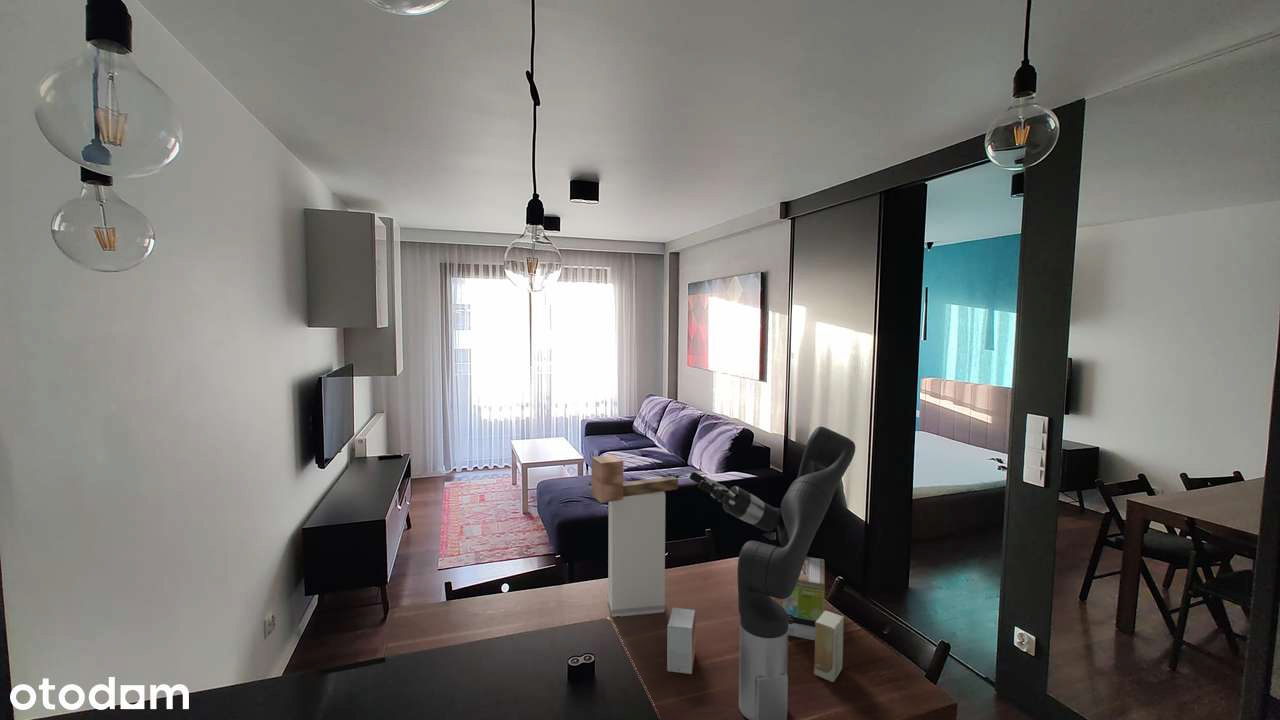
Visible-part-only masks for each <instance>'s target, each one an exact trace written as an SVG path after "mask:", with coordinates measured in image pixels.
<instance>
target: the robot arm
mask: <svg viewBox="0 0 1280 720" xmlns="http://www.w3.org/2000/svg"><path fill="white" fill-rule="evenodd" d="M855 444H856V443H855V442H854V441H853V440H852V439H850V438H849V437H847V436H844V435H843V434H840V433H838V432H836V431H834V430H832V429H829V428H827V427H824V426H818V427H815V429H814V430H813V432H812V433H811V435H810V437H809V439H808V441H807V443H806V445H805V448H804V452H803V455H802V458H801V462H800V465H799V469H798V474H797V478H796V479H795V480H794V481H792V482H791V484H790V486H789V487H788V489H787V491H786V492H785V494H784V496H783V498H782V500H781V503H780V508H778V507H773V506H772V505H770V504H768V503H767V502H764V501H763V500H761V499H760V498H759V497H757V496H756V495H754V494H752V493H750V492H749V491H746V490H745V489H743V488H742V487H739V486H738V485H734V486H732V487H730V488H729V489H728V488H727V487H726V486H725V485H724V484H720V483H719V482H717V481H716V480H713V479H711V478H708V477H707V476H706V475H703V476H702V475H701V474H699V473H697V472H695V471H692V472H691V474H690V475H689V479H690V480H691V481H693V482H694V483H697V484H698V486H697V487H698V489H700V490H702V491H703V492H706V493H707V494H709V495H710V496H711V497H713V499H715V500H716V501H718V502H720V503H722V508H723V511H725V513H727V514H728V513H729V514H730V515H732V516H733V517H735V518H737V519H740V520H741V521H743V522H745V523H748V524H751V525H752V526H754V527H756V528H758V529H760V530H762V531H763V532H772V531H773V530H775V528H777V532H778V534H777V536H778V541H779V543H780V545H781V546H782V547H781V546H776V545H773V544H769V543H764V542H762V541H756V540H749V541H746V542H745V543H744V544H743V546H742V547H741V549H740V552H739V555H738V560H737V595H738V596H737V597H738V606H737V607H738V613H739V617H740V618H739V623H740V624H739V657H738V658H739V659H738V660H739V661H738V663H739V666H738V667H739V668H738V669H739V672H738V708H739V710H740V713H741V714H742V715H743V716H744V717H745V718H746V719H748V720H788V693H789V691H788V688H789V686H788V685H789V684H788V683H789V677H788V655H789V654H788V650H789V649H788V648H789V635H788V615H787V612H786V611H785V609H784V608H783V607H782V605H780V604H779V603H778V602H776V600H774V599H779V600H783V599H786V598H788V597H789V596H790V595H791V594H792V592H793V590H794V588H795V586H796V584H797V581H798V579H799V576H800V573H801V570H802V567H803V564H804V561H805V559H806V557H808V552H809V550H810V547H811V546H812V543H813V541H814V539H815V536H816V533H817V531H818V529H819V528H820V525H821V524H822V522H823V520H824V518H825V515H826V513H827V512H828V509H829V508H830V505H831V502H832V500H833V497H834V495H835V493H836V490H837V487H838V485H839V484H840V482H841V480H842V478H843V476H844V475H845V473H846V471H847V470H848V467H849V466H850V464H851V463H852V461H853V460H854V459H853V458H854V456H855V453H856V445H855ZM815 464H818V465H819V466H821V467H824V469H823V470H819V471H815ZM773 598H774V599H773Z"/></svg>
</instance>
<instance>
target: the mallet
mask: <svg viewBox="0 0 1280 720" xmlns="http://www.w3.org/2000/svg"><path fill="white" fill-rule="evenodd" d="M590 458H591V468H590V469H591V470H590V471H591V474H590V475H591V476H590V477H591V478H590V479H591V482H590V483H591V486H590V488H591V492H590V493H591V496H592V497H593V498H594V499H595V500H597V501H598V502H600V503H601V504H602V503H603V504H604V503H609V502H611V501H618V500H623V497H626V496H633V495H640V494H647V493H654V492H661V491H664V492H665V491H666V492H667V491H673V490H674V491H675V490H678V489H679V478H677V477H675V476H673V475H669V476H661V477H655V478H647V479H641V480H633V481H625V482H624V460H623V459H621V458H619V457H618V456H616V455H614V454H606V455H605V454H604V455H597V456H596V455H595V456H591V457H590Z"/></svg>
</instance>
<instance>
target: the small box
mask: <svg viewBox="0 0 1280 720" xmlns="http://www.w3.org/2000/svg"><path fill="white" fill-rule="evenodd" d="M666 628H667V629H666V630H667V631H666V633H667V634H666V635H667V641H666V642H667V643H666V645H667V647H666V648H667V649H666V650H667V651H666V654H667V655H666V657H667V658H666V663H667V664H666V666H667V667H666V668H667V669H666V671H667V672H670V673H671V672H673V673H679V674H680V673H681V674H689V675H693V667H694V661H695V654H696V610H695V609H689V608H688V609H687V608H679V607H671V612H670V616H669V620H668V624H667V627H666Z"/></svg>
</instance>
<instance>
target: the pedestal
mask: <svg viewBox="0 0 1280 720" xmlns="http://www.w3.org/2000/svg"><path fill="white" fill-rule="evenodd" d="M607 545H608V559H607V561H608V562H607V563H608V566H607V567H608V572H607V573H608V576H607V577H608V578H607V579H608V580H607V582H608V583H607V584H608V586H607V587H608V589H607V590H608V591H607V592H608V593H607V601H608V602H607V603H608V606H609V610H610V615H611V617H612V618H617V617H616V616H620V617H628V616H638V615H649V614H659V613H665V609H666V603H665V593H666V592H665V589H666V588H665V587H666V585H665V583H666V579H665V577H666V574H665V572H666V571H665V570H666V563H665V562H666V493H665V491H661V492H654V493H647V494H640V495H633V496H626V497H623V500H618V501H611V502H608V544H607ZM614 616H615V617H614Z"/></svg>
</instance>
